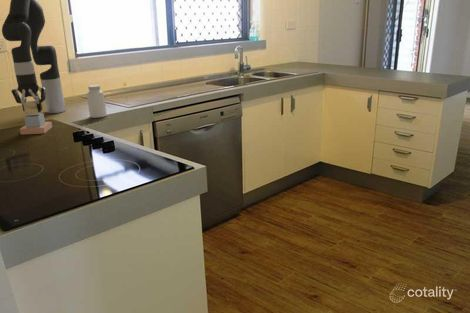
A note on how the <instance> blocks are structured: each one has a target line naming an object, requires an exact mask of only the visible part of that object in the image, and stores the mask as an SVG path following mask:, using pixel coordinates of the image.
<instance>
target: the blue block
mask: <svg viewBox="0 0 470 313" xmlns="http://www.w3.org/2000/svg"><path fill="white" fill-rule="evenodd" d="M23 119H24V123H25V125H26V127H41V126H42V125H43V124H45V122H46V118H45V115H44V113H41V112H40V113H38V114H30V115H26V116H24V118H23Z"/></svg>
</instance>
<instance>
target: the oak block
mask: <svg viewBox="0 0 470 313" xmlns="http://www.w3.org/2000/svg"><path fill="white" fill-rule="evenodd" d="M23 106H24V110H25V112H24V114H25V115H26V116H27V115H30V114H38V113H41V112H38V108H37V102H36V101H35V99H34V100H26V102H24V103H23Z"/></svg>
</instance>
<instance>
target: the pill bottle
mask: <svg viewBox="0 0 470 313" xmlns="http://www.w3.org/2000/svg"><path fill="white" fill-rule="evenodd" d="M104 93H105V92H104V91H102V90H101V85H99V84H94V85H93V84H91V85H88V92H87V93H86V100H87V106H88V107H87V108H88V112H89V117H90V118H93V119H97V118H103V117H106V116H107V107H106V100H105V94H104Z"/></svg>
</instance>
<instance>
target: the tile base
mask: <svg viewBox="0 0 470 313" xmlns="http://www.w3.org/2000/svg"><path fill="white" fill-rule="evenodd" d="M52 128H53V123H52V121H45V124H43V125H42V126H41V127H26V124H25V125H23V126H22V127H20V128H19V132H20V135H34V134H36V135H38V134H41V135H42V134H46V133H47V132H48V131H49V130H50V129H52Z"/></svg>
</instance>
